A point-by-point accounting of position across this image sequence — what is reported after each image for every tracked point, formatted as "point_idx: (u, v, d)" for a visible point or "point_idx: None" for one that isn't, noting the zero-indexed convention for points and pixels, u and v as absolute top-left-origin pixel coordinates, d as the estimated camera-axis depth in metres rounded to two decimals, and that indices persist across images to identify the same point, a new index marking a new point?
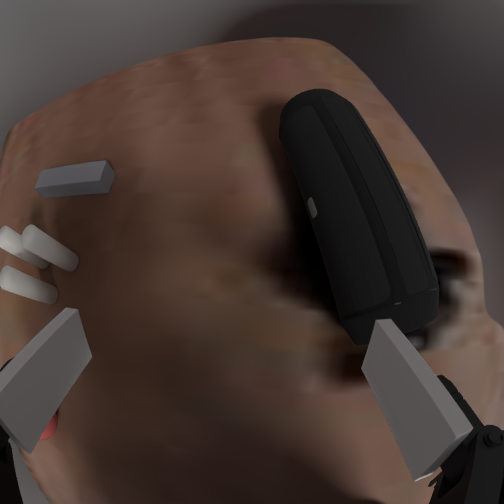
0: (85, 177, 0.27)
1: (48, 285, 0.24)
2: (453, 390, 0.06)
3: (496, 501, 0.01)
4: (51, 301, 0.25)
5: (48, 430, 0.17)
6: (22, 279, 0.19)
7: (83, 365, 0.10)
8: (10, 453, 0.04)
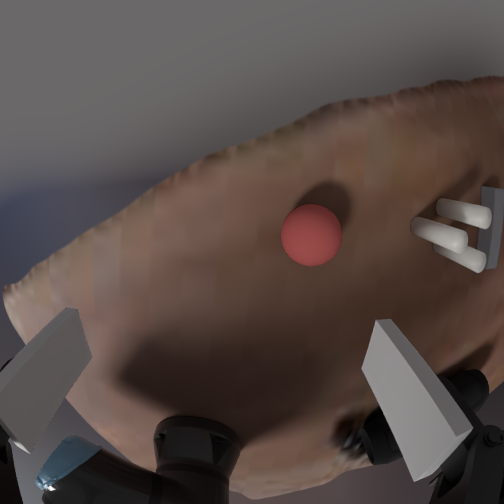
0: (491, 253, 0.27)
1: None
2: (453, 390, 0.06)
3: (496, 501, 0.01)
4: (415, 233, 0.29)
5: None
6: None
7: (83, 365, 0.10)
8: (10, 453, 0.04)
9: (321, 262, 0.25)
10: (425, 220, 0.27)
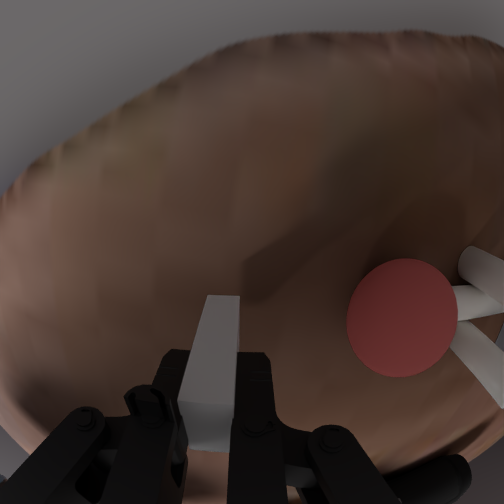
0: None
1: None
2: (270, 371, 0.09)
3: (284, 502, 0.04)
4: None
5: None
6: None
7: None
8: (185, 471, 0.06)
9: None
10: (470, 291, 0.13)
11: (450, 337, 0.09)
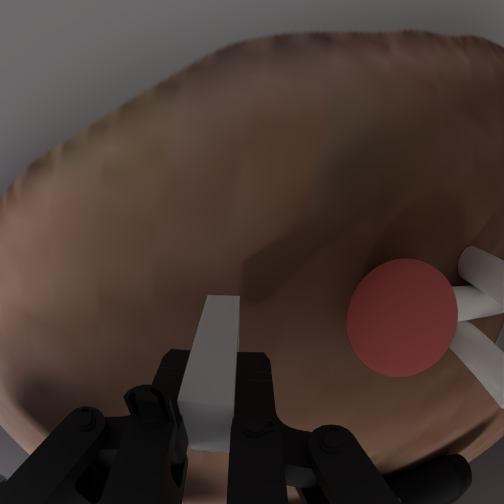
0: None
1: None
2: (270, 371, 0.09)
3: (284, 502, 0.04)
4: None
5: None
6: None
7: None
8: (185, 471, 0.06)
9: None
10: (471, 292, 0.13)
11: (450, 337, 0.09)
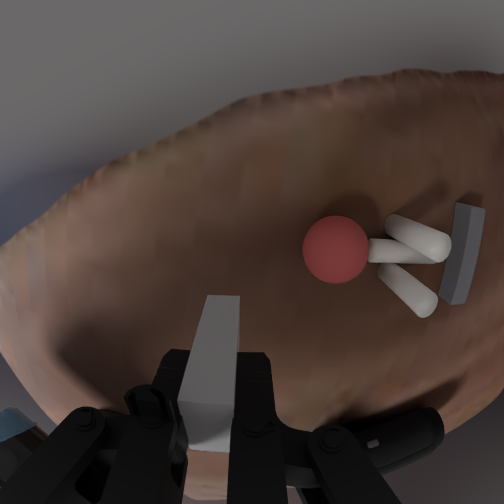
0: (458, 287, 0.25)
1: None
2: (270, 371, 0.09)
3: (284, 501, 0.04)
4: (379, 261, 0.25)
5: None
6: None
7: None
8: (185, 471, 0.06)
9: None
10: (393, 242, 0.25)
11: (359, 254, 0.20)
